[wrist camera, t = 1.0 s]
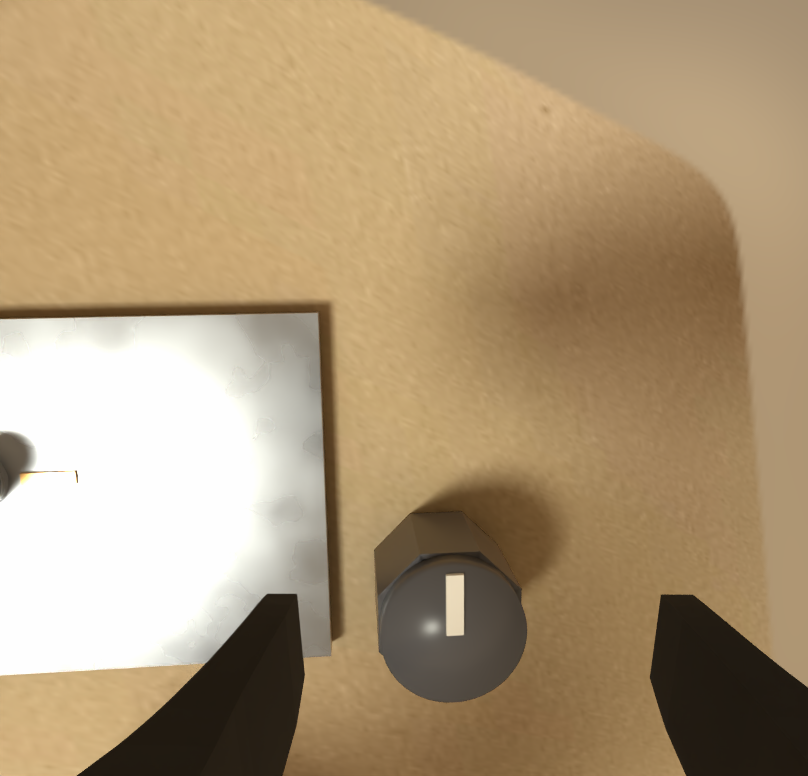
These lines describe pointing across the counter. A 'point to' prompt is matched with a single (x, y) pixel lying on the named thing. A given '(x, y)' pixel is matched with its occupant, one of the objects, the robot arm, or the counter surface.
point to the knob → (447, 608)
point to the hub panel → (158, 486)
